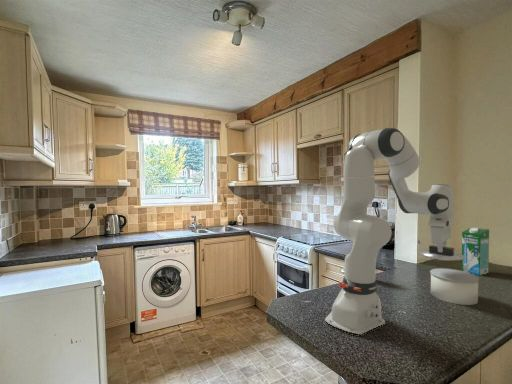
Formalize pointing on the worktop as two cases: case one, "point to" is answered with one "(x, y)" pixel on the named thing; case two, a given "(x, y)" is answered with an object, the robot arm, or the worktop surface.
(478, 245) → the milk carton
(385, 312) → the worktop surface
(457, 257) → the lid
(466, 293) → the cooker pot
